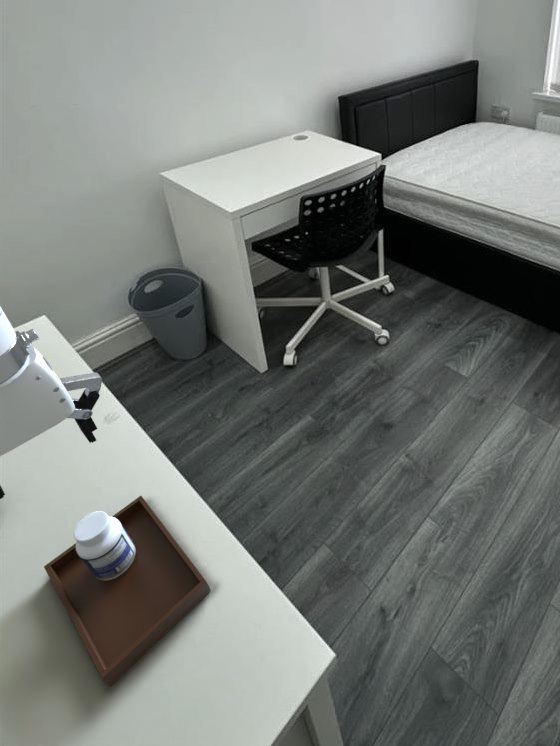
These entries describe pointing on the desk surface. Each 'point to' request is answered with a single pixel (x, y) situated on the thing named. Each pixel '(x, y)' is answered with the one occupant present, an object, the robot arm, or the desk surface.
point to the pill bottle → (104, 545)
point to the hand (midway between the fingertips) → (46, 461)
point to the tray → (129, 593)
